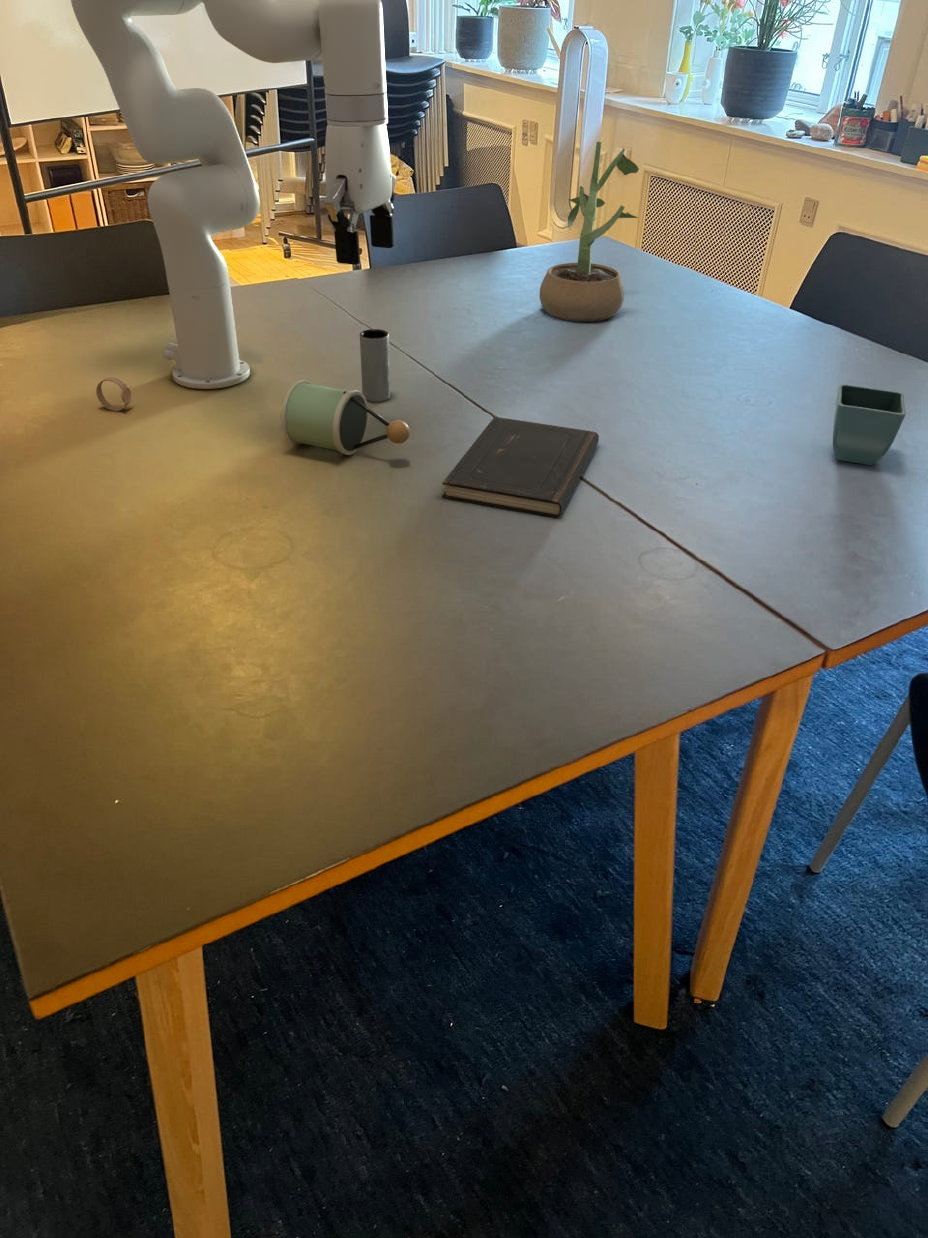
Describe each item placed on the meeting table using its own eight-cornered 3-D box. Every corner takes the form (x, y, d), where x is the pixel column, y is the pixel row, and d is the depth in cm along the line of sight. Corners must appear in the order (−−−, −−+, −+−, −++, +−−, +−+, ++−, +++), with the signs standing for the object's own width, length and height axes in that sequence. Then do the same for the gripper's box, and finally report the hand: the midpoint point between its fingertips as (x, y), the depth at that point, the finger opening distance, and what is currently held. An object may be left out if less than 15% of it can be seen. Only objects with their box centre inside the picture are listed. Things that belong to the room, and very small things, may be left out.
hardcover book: (442, 497, 125) (442, 482, 124) (493, 430, 143) (494, 416, 141) (560, 518, 121) (561, 502, 120) (598, 446, 139) (599, 432, 137)
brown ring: (126, 413, 146) (119, 382, 143) (97, 411, 146) (90, 379, 143) (134, 407, 148) (128, 376, 145) (106, 404, 148) (99, 373, 146)
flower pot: (886, 449, 140) (904, 391, 135) (888, 474, 133) (906, 414, 128) (824, 440, 142) (839, 382, 137) (822, 464, 135) (838, 404, 130)
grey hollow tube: (386, 403, 151) (384, 339, 145) (359, 400, 151) (355, 336, 146) (393, 392, 154) (392, 330, 148) (367, 390, 155) (364, 327, 149)
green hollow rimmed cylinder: (284, 453, 135) (278, 392, 130) (316, 429, 142) (312, 371, 137) (394, 476, 129) (392, 414, 124) (422, 451, 136) (422, 391, 131)
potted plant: (623, 328, 183) (642, 157, 166) (531, 319, 187) (541, 151, 169) (633, 295, 201) (652, 138, 184) (549, 288, 205) (560, 133, 187)
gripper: (362, 101, 124) (370, 239, 134) (293, 116, 111) (308, 267, 121) (414, 103, 122) (419, 243, 132) (350, 119, 109) (360, 273, 118)
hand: (366, 254), depth 126 cm, fingers open, 9 cm apart
